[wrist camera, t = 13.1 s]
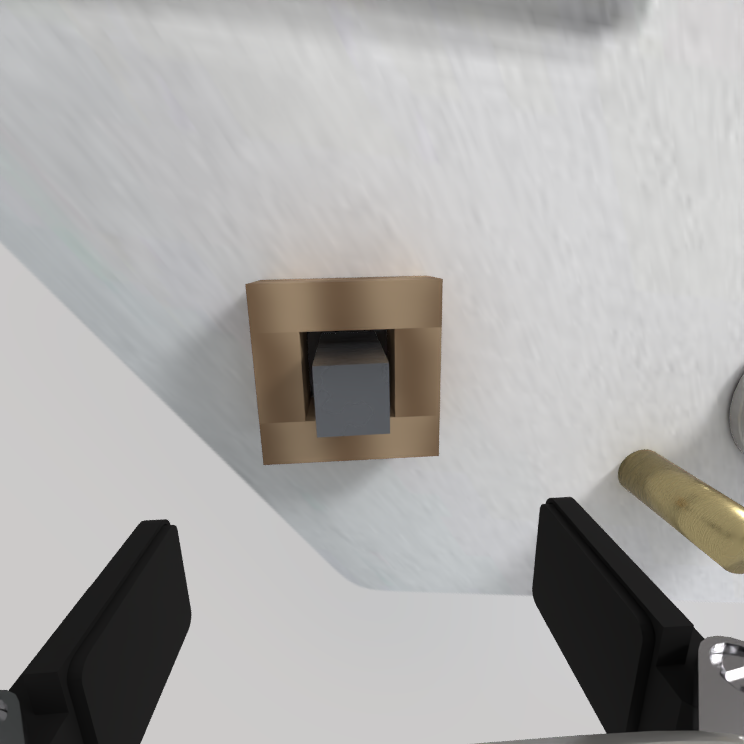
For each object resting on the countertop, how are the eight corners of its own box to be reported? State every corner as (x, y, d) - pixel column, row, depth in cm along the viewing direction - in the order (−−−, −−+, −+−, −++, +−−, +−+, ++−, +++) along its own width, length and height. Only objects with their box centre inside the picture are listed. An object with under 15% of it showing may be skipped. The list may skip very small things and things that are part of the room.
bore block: (426, 275, 31) (442, 279, 26) (424, 427, 34) (438, 455, 29) (261, 280, 30) (245, 284, 25) (275, 434, 33) (263, 464, 28)
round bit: (666, 448, 36) (785, 518, 26) (658, 489, 37) (770, 571, 27) (621, 450, 36) (725, 522, 26) (615, 492, 37) (712, 575, 27)
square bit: (374, 331, 31) (389, 363, 22) (376, 381, 32) (390, 433, 23) (321, 332, 31) (312, 366, 22) (324, 384, 32) (316, 437, 23)
